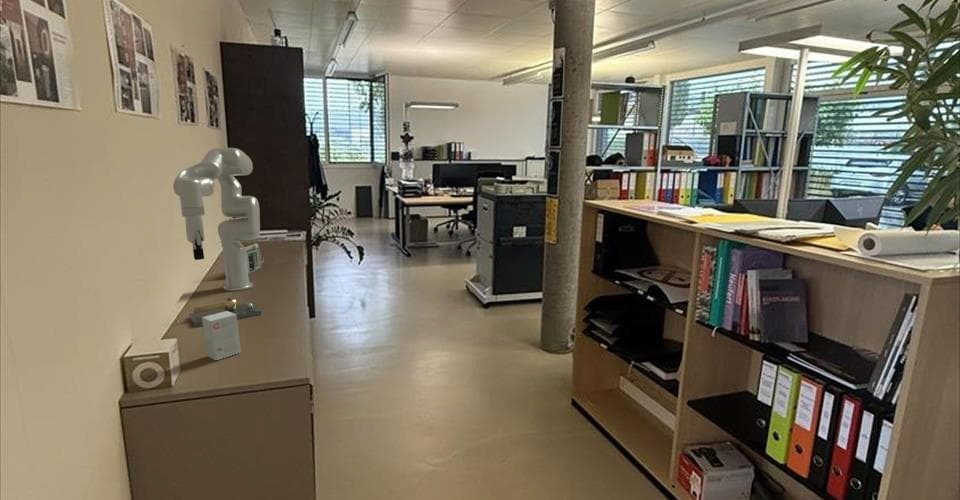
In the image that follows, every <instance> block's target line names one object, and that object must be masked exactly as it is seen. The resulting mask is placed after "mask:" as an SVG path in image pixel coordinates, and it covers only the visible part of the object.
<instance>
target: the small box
mask: <svg viewBox="0 0 960 500" xmlns="http://www.w3.org/2000/svg"><path fill="white" fill-rule="evenodd" d="M202 323H203V326H202V329H203V336H204V343H205V348H206V350H205V351H206V356H207V357H208V358H209V357H210V359H211V358H212V359H211V360H213V359H214V360H213V361H215V360H218V361H219V360H220V359H221V360H223V358H224V359H226V357H227V358H229V356H230V357H232V355H233V356H235V354H236V355H239V354H241V353H242V351H241V350H242V349H241V343H240V342H241V341H240V335H239V327H238V319H237V317H236V314H234V313H231V312H229V311H225V312H221V313H217V314H213V315H209V316H205V317H202ZM238 353H239V354H238Z"/></svg>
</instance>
